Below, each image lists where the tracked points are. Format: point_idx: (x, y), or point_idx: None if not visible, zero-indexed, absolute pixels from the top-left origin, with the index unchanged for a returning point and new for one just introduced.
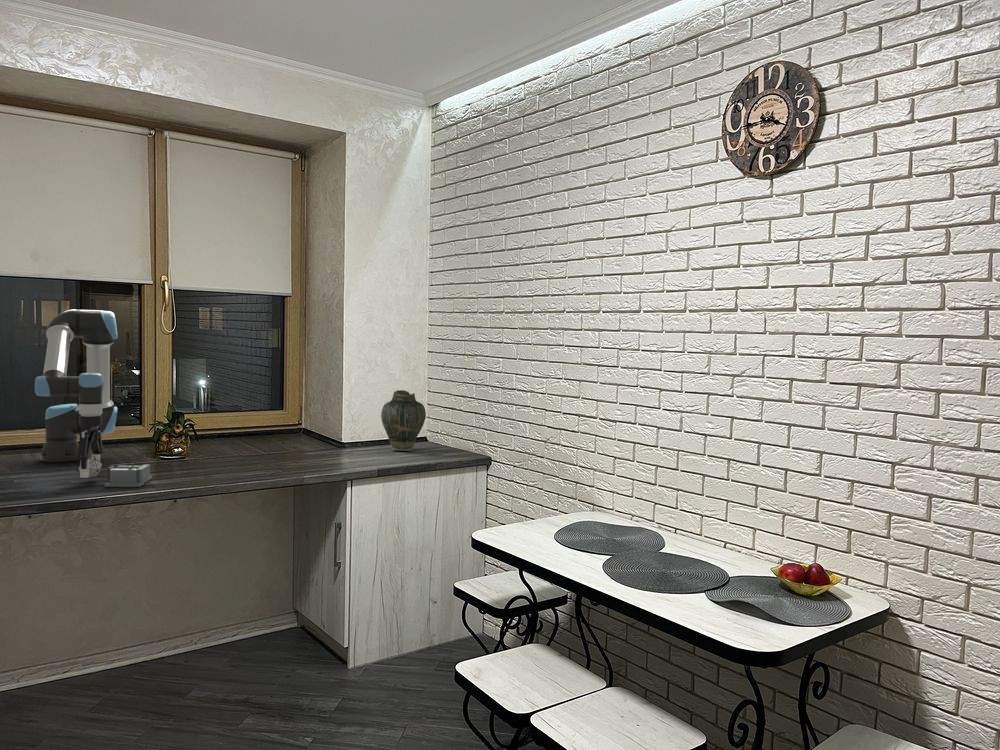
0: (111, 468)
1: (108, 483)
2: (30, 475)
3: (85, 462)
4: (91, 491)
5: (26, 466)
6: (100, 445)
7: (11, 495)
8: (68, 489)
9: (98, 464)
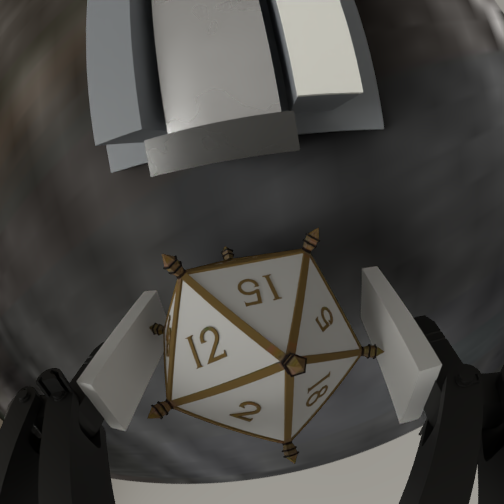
0: (279, 112)
1: (365, 108)
2: (197, 463)
3: (449, 357)
4: (479, 161)
5: (121, 467)
6: (19, 442)
7: None
8: (438, 294)
9: (258, 290)
